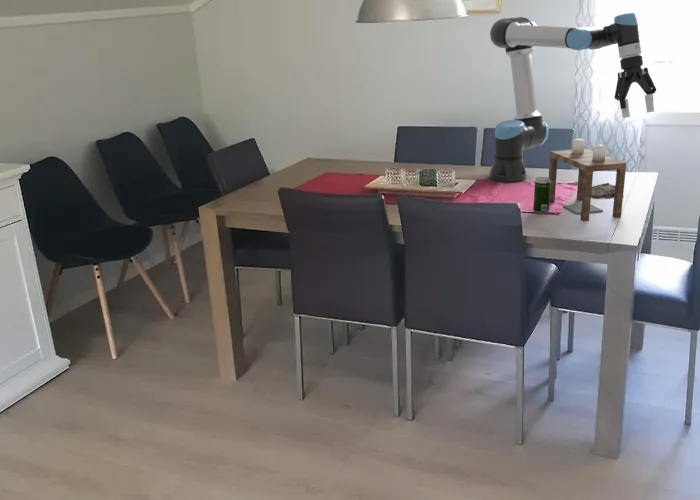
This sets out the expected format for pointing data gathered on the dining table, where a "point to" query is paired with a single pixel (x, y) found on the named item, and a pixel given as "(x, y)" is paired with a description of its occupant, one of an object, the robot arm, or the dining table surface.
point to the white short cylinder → (578, 146)
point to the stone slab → (603, 191)
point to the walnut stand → (588, 177)
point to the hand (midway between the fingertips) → (638, 114)
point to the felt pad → (577, 208)
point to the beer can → (542, 195)
